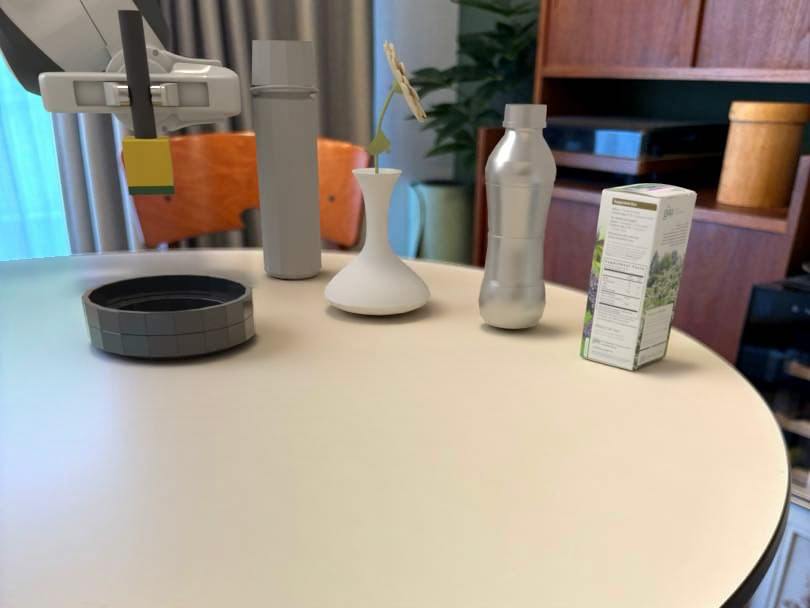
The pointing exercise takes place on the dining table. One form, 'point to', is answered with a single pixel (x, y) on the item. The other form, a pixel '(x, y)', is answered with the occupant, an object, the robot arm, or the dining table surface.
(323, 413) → the dining table surface
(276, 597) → the dining table surface
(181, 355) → the bowl
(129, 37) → the sponge wand
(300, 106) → the water bottle
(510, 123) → the plastic bottle
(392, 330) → the dining table surface
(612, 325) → the syrup box
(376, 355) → the dining table surface
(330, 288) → the flower in vase
